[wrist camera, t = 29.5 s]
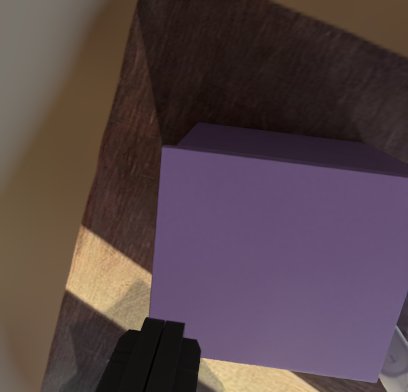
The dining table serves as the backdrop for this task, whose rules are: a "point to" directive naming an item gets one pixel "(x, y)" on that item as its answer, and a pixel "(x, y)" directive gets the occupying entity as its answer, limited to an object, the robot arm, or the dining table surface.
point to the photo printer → (395, 364)
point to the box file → (291, 147)
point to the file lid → (281, 260)
